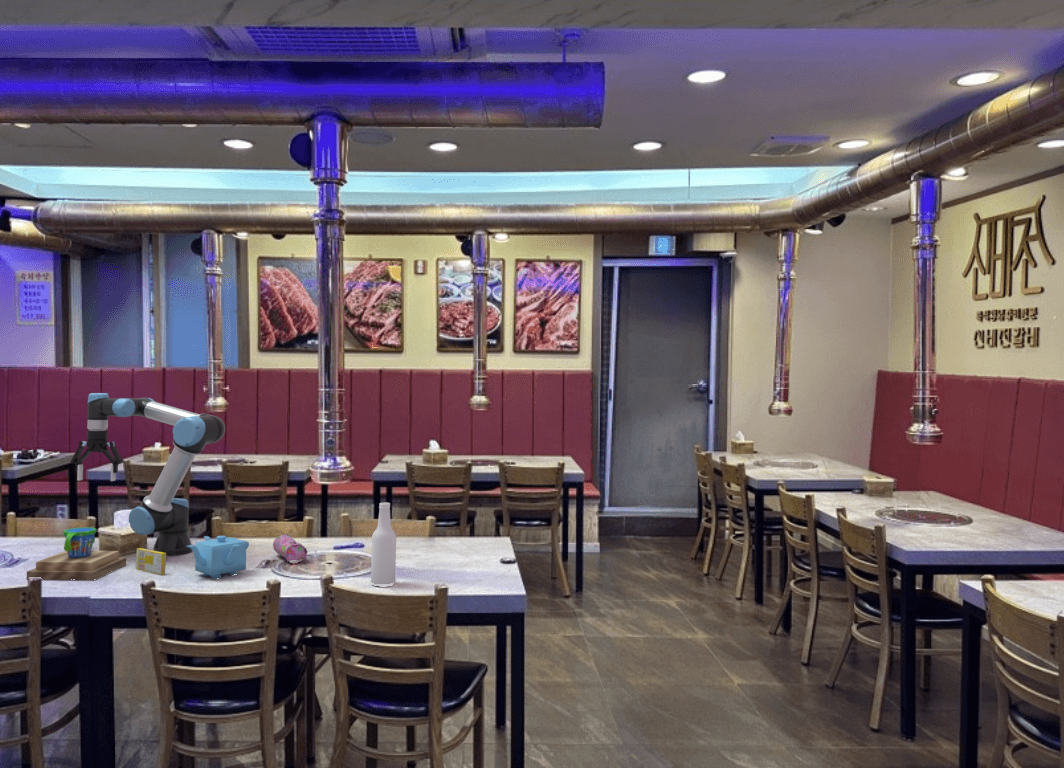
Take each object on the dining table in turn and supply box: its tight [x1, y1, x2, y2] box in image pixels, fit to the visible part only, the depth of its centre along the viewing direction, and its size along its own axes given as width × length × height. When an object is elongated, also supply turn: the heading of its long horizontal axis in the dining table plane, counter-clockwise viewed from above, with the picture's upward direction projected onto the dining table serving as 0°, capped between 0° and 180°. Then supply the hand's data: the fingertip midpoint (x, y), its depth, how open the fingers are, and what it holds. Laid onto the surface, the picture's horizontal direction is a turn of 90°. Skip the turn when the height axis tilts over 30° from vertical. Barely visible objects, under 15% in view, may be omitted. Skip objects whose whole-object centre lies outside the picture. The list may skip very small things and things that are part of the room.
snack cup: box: [63, 527, 97, 558], centre depth 293 cm, size 16×10×10 cm
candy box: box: [135, 547, 167, 576], centre depth 296 cm, size 16×2×8 cm, turn 59°
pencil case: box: [272, 534, 308, 562], centre depth 321 cm, size 21×9×9 cm, turn 32°
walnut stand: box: [26, 550, 127, 581], centre depth 293 cm, size 24×24×6 cm
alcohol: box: [370, 501, 397, 584], centre depth 284 cm, size 9×9×30 cm
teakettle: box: [187, 535, 250, 580], centre depth 293 cm, size 19×19×15 cm
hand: (96, 480), depth 324 cm, fingers open, 13 cm apart
